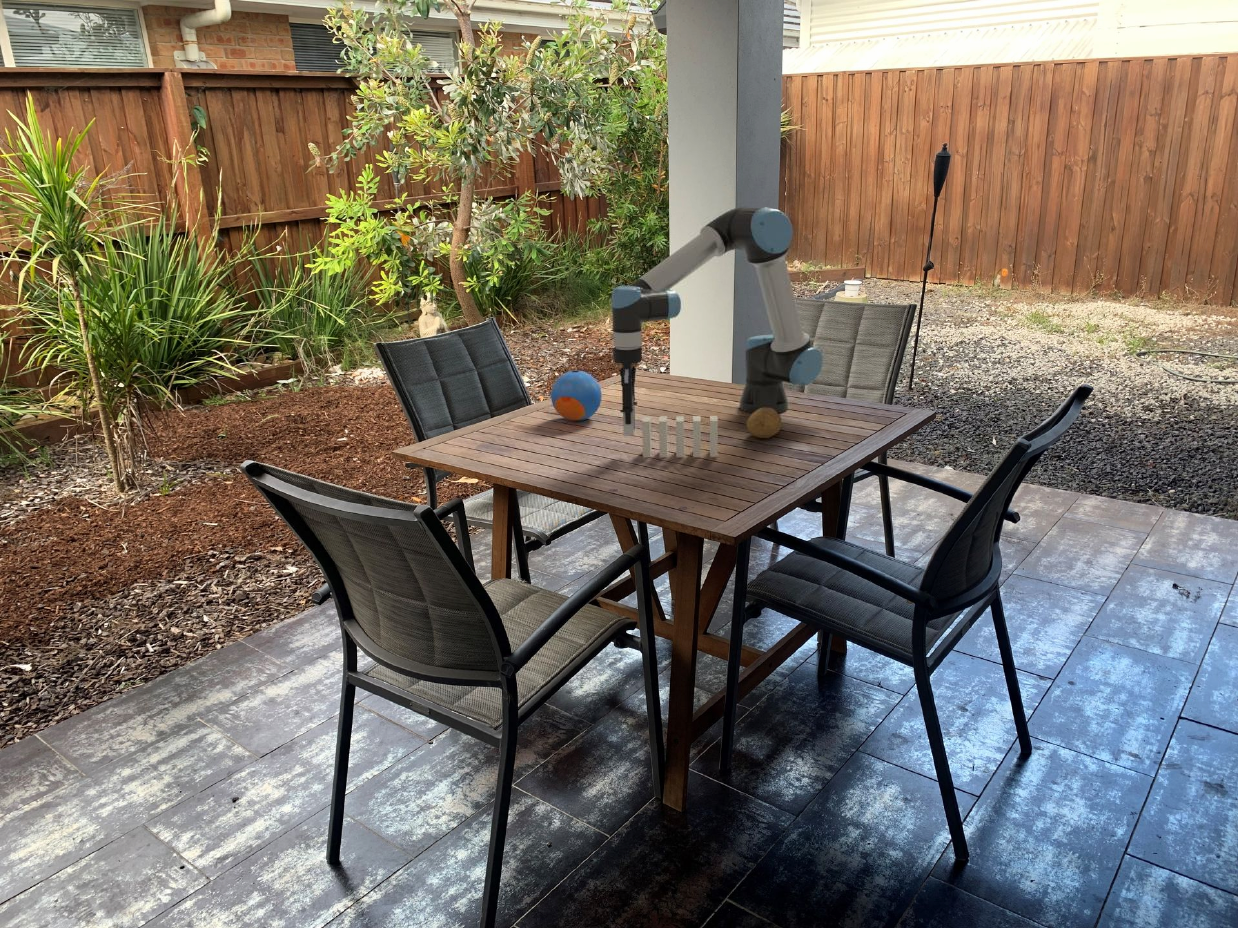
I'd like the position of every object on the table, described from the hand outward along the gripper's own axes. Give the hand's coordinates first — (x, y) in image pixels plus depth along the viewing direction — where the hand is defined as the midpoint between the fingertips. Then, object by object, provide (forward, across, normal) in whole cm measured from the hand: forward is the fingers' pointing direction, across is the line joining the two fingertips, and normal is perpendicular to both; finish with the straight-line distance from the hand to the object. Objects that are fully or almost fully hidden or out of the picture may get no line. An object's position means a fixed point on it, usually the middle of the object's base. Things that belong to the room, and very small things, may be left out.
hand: (629, 432), depth 245 cm
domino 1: (0, 0, 0) cm, 0 cm away
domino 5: (+6, 0, +18) cm, 19 cm away
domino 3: (+6, 0, +9) cm, 11 cm away
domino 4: (+6, 0, +14) cm, 15 cm away
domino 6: (+6, 0, +23) cm, 24 cm away
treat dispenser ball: (+7, -35, -19) cm, 40 cm away
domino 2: (+6, 0, +5) cm, 8 cm away
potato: (+6, -16, +37) cm, 41 cm away
